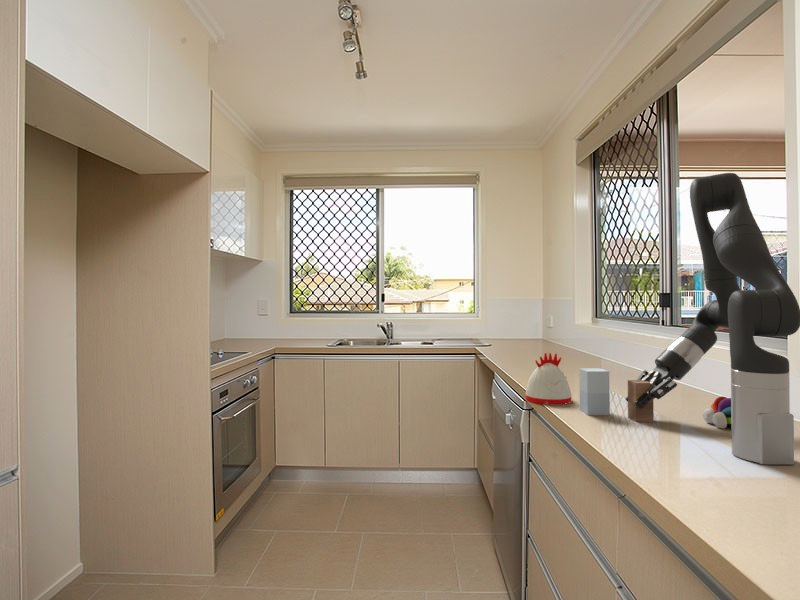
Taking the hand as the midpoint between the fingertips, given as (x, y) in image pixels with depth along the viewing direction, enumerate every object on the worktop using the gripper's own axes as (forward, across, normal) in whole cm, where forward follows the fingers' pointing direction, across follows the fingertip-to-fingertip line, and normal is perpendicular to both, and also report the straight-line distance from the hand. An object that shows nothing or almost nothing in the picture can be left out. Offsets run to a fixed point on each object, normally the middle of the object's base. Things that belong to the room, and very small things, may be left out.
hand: (633, 403), depth 123 cm
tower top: (+4, -8, -6) cm, 11 cm away
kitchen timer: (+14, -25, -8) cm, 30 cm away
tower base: (+8, -8, -2) cm, 11 cm away
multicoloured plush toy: (-11, +6, +18) cm, 22 cm away
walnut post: (+2, 0, +4) cm, 5 cm away
